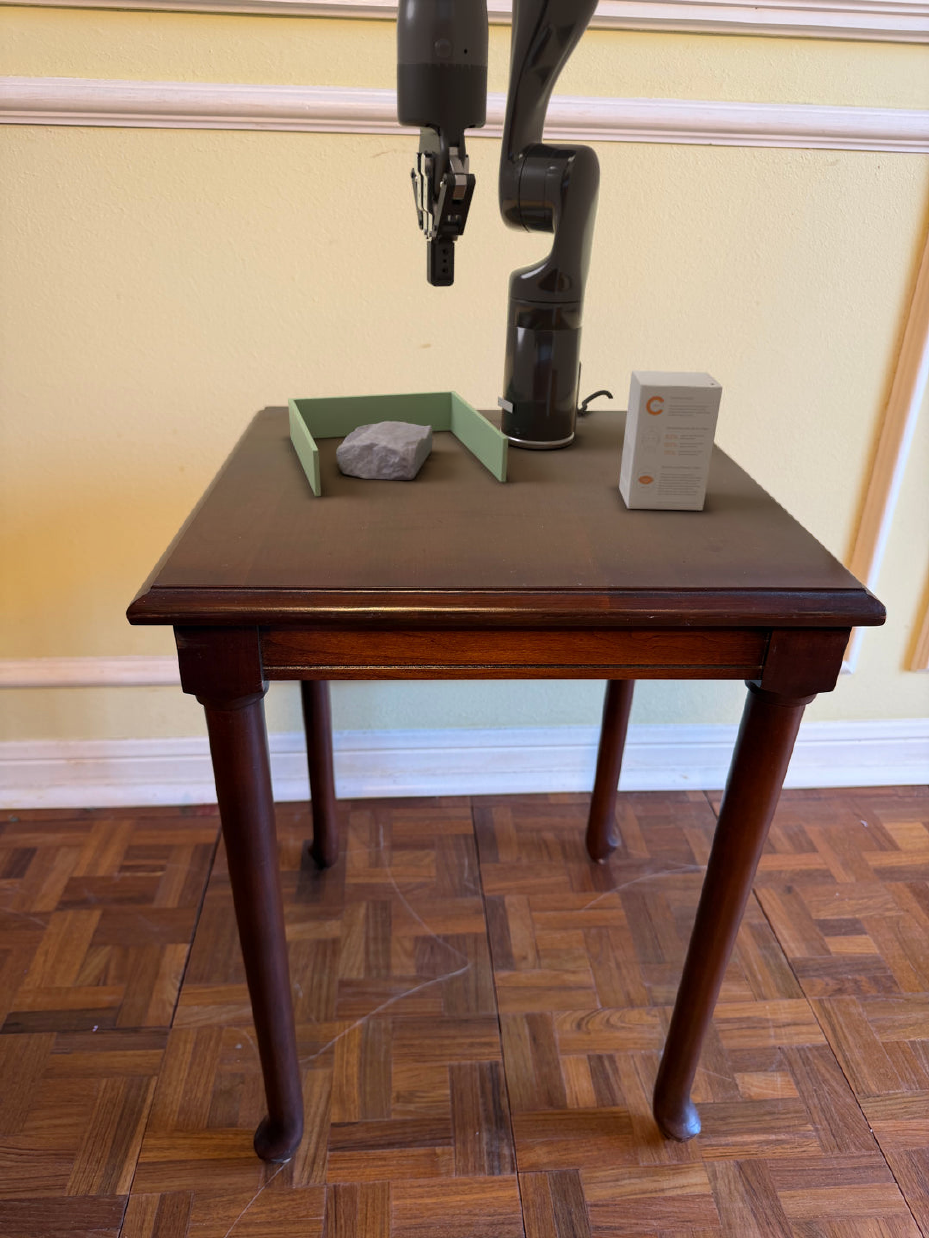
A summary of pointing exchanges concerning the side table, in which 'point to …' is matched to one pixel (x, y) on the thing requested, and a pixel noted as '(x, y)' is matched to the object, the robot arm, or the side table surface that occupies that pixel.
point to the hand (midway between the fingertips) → (440, 285)
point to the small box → (669, 439)
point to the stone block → (385, 450)
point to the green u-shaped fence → (413, 408)
